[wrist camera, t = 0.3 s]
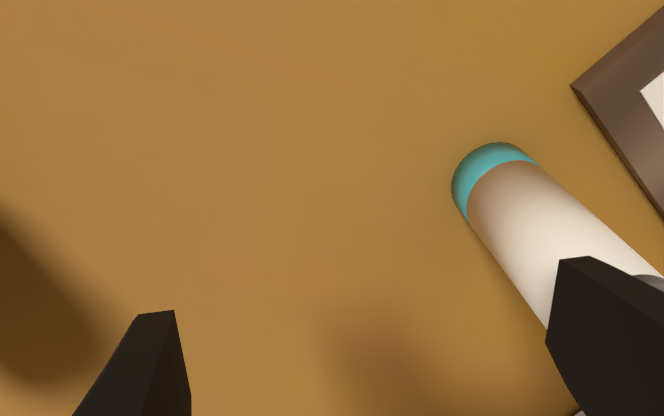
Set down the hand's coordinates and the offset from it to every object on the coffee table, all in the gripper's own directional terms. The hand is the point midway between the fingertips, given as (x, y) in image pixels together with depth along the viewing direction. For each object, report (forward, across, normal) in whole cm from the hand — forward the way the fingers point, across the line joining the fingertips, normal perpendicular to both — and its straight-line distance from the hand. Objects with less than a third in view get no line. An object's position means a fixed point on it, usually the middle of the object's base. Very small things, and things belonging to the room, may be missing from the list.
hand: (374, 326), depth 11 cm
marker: (+10, -6, +2) cm, 12 cm away
